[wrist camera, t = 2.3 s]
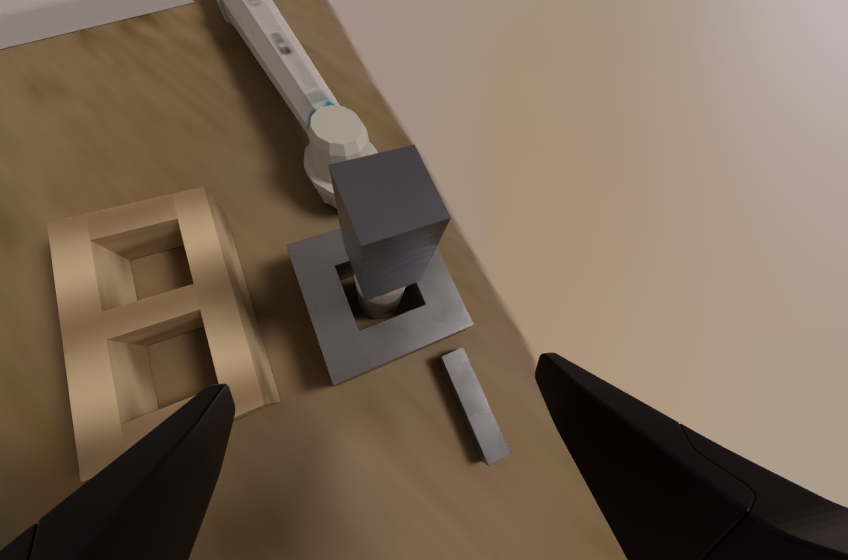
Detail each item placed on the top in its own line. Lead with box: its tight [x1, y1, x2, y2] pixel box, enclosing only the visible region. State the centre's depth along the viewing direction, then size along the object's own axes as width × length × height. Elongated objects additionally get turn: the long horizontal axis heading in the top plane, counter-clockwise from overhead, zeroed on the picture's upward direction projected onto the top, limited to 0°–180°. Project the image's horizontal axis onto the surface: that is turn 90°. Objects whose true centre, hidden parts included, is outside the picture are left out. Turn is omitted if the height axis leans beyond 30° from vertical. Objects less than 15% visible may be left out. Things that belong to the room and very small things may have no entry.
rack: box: [47, 187, 280, 482], centre depth 18 cm, size 14×8×3 cm, turn 23°
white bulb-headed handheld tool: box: [217, 0, 378, 209], centre depth 24 cm, size 5×7×25 cm
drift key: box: [438, 347, 510, 466], centre depth 20 cm, size 7×2×1 cm, turn 23°
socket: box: [286, 229, 474, 385], centre depth 21 cm, size 9×9×3 cm
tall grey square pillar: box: [329, 145, 450, 318], centre depth 16 cm, size 3×3×13 cm
